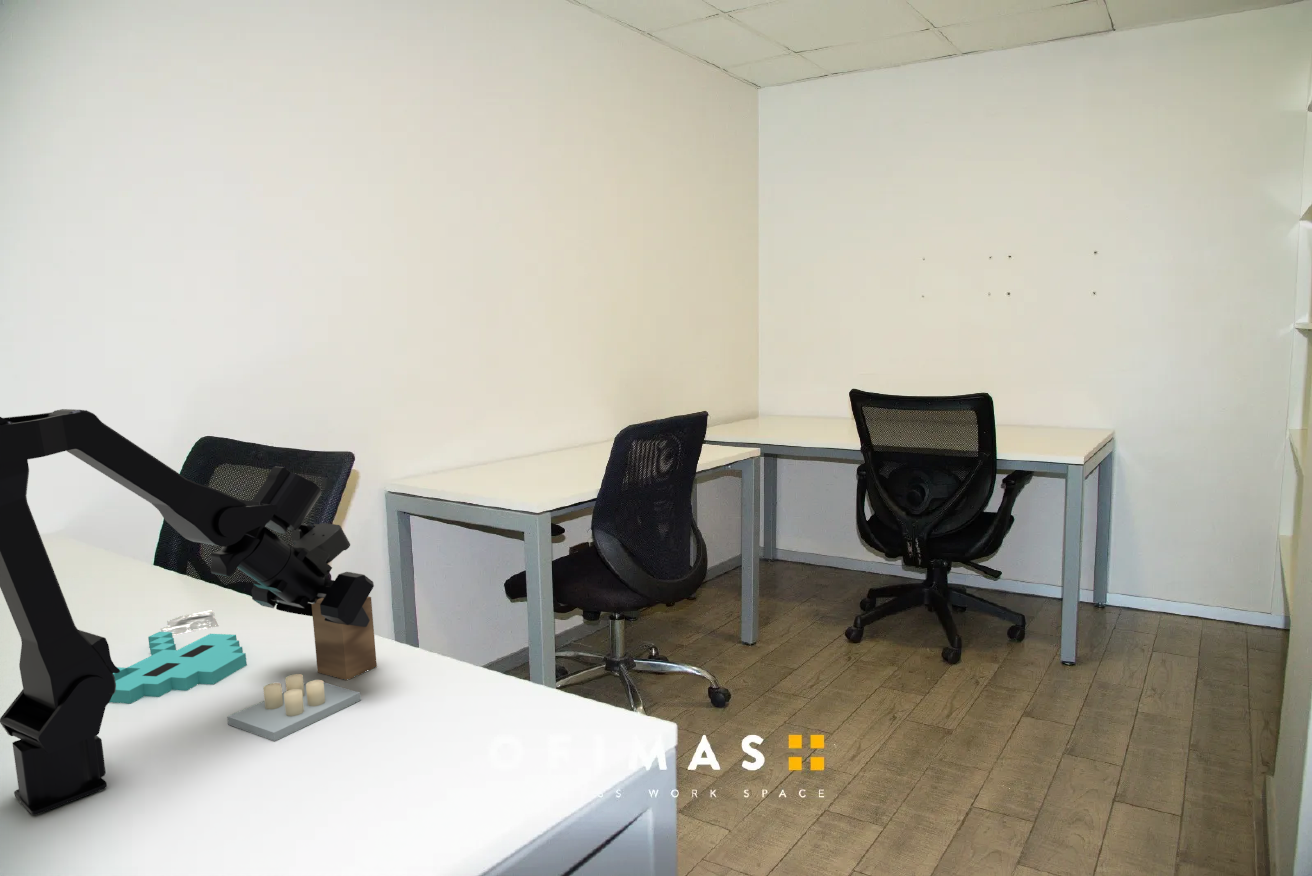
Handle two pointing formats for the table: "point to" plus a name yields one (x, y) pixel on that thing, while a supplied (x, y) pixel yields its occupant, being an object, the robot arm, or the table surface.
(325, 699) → the peg stand
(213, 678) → the alien figure
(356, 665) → the walnut block
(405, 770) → the table surface
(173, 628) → the crumpled silver wrapper
